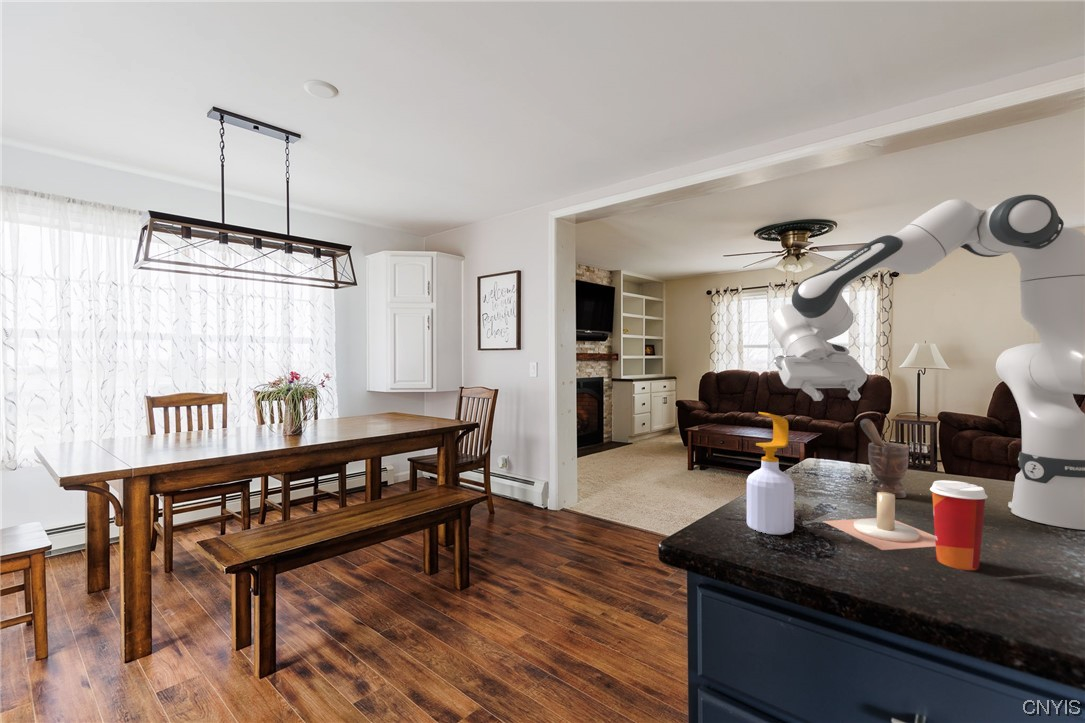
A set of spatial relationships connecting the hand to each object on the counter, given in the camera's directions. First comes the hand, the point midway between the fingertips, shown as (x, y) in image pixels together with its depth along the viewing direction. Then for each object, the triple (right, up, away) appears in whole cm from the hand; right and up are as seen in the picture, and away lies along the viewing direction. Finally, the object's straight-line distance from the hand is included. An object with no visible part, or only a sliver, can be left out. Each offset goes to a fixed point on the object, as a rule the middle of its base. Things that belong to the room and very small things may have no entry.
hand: (838, 399), depth 114 cm
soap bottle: (-20, -27, -9) cm, 34 cm away
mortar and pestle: (+21, -26, +14) cm, 36 cm away
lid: (+2, -26, -13) cm, 29 cm away
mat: (+2, -27, -13) cm, 30 cm away
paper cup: (+4, -27, -28) cm, 39 cm away
